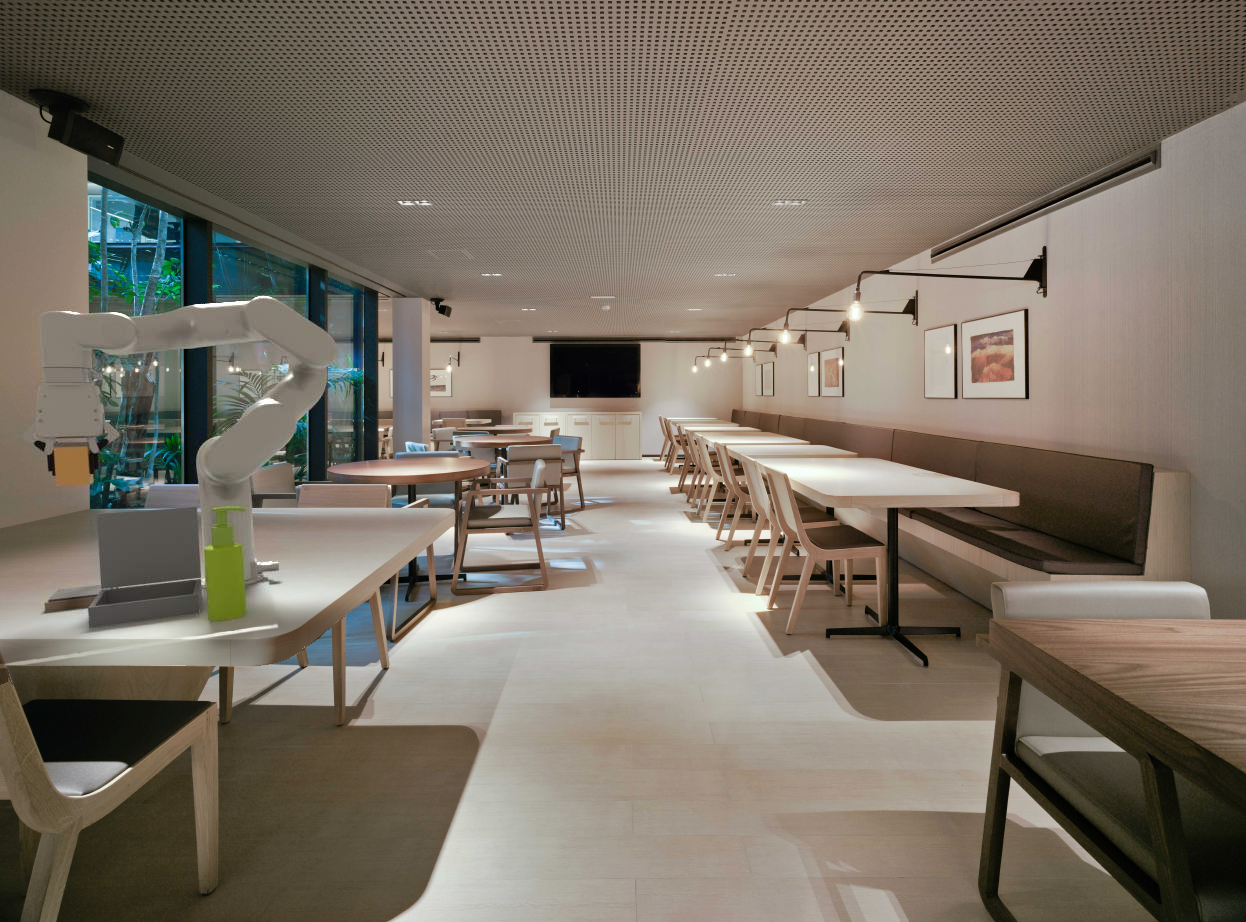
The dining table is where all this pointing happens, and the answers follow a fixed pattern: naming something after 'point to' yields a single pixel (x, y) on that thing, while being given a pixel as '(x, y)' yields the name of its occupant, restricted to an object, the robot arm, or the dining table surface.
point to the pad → (73, 598)
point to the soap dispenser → (225, 570)
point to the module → (72, 463)
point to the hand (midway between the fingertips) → (74, 473)
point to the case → (145, 603)
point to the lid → (148, 546)
